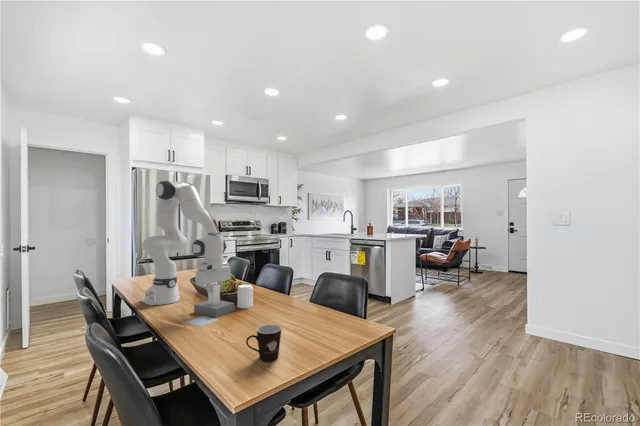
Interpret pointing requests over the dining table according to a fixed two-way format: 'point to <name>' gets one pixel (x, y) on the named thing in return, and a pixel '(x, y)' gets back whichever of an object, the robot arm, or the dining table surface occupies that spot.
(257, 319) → the dining table surface
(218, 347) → the dining table surface
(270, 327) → the coffee mug
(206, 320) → the mat
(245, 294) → the beverage can
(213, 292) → the plug
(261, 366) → the dining table surface
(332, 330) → the dining table surface
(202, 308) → the block
